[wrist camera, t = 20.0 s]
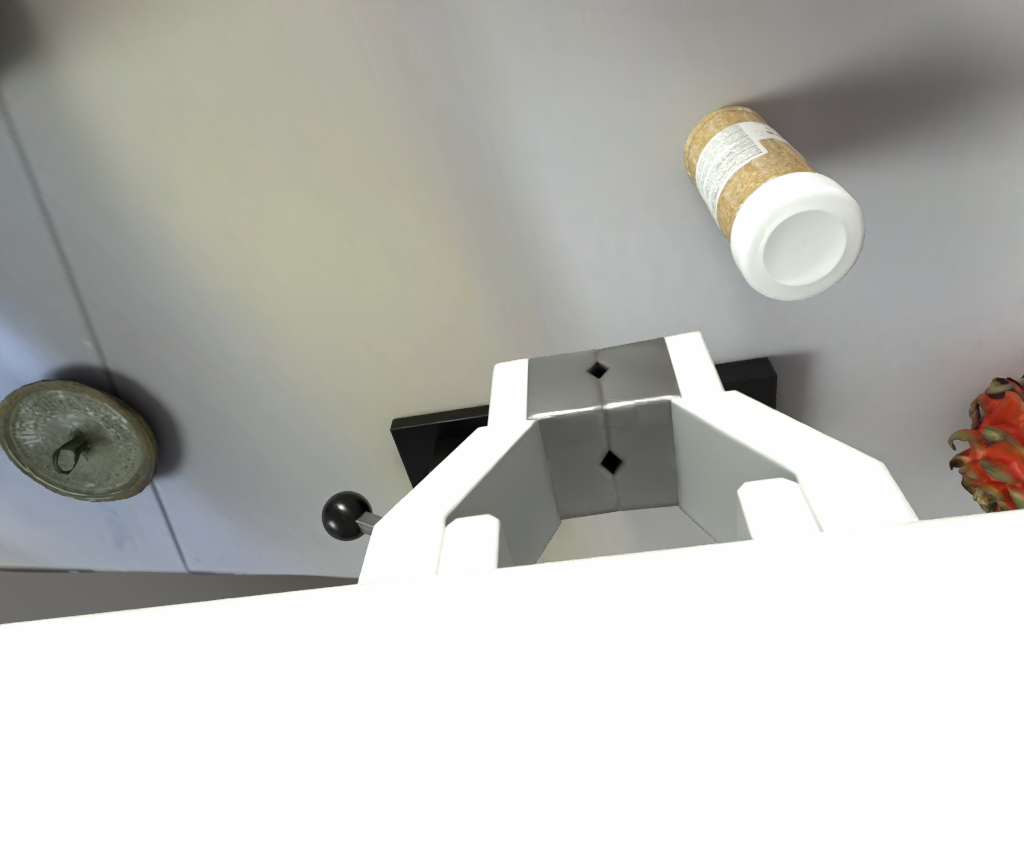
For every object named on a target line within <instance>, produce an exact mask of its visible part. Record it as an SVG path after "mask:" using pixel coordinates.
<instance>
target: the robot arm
mask: <svg viewBox="0 0 1024 848" xmlns="http://www.w3.org/2000/svg"><path fill="white" fill-rule="evenodd" d="M678 505H679V508H680V509H681V510H682V511H683V512H684V513H685V514H687V515H688V516H689V517H690V518H691V519H692V520H693V521H694V522H695V523H696V524H697V525H699V526H700V527H701V528H702V529H703V530H704V531H705V532H706V533H707V534H708V535H709V536H711V537H712V538H713V539H714V540H715V541H716V542H717V543H718V544H710V545H701V546H692V547H683V548H675V549H666V550H657V551H648V552H639V553H630V554H621V555H612V556H604V557H595V558H586V559H577V560H568V561H559V562H550V563H541V564H535V563H536V562H537V560H538V559H539V557H540V555H541V554H542V552H543V551H544V549H545V548H546V546H547V544H548V543H549V541H550V540H551V538H552V536H553V535H554V533H555V532H556V530H557V529H558V527H559V525H560V524H561V520H563V519H570V518H576V517H583V516H590V515H596V514H603V513H610V512H616V511H626V510H636V509H647V508H657V507H667V506H678ZM618 508H619V509H618ZM0 848H1024V509H1020V510H1011V511H1002V512H993V513H984V514H975V515H967V516H958V517H949V518H940V519H931V520H922V521H920V520H919V519H918V517H917V516H916V514H915V512H914V511H913V509H912V508H911V506H910V504H909V503H908V501H907V500H906V498H905V497H904V495H903V493H902V492H901V490H900V489H899V487H898V485H897V484H896V482H895V481H894V479H893V477H892V476H891V474H890V473H889V471H888V470H887V468H886V466H885V465H884V463H883V462H881V461H878V460H876V459H874V458H872V457H870V456H868V455H866V454H864V453H862V452H860V451H858V450H856V449H854V448H852V447H850V446H848V445H846V444H844V443H842V442H840V441H838V440H836V439H834V438H832V437H830V436H828V435H825V434H823V433H821V432H819V431H817V430H815V429H813V428H811V427H809V426H807V425H805V424H803V423H801V422H799V421H797V420H795V419H793V418H791V417H789V416H787V415H785V414H783V413H781V412H779V411H777V410H775V409H772V408H770V407H768V406H766V405H764V404H762V403H760V402H758V401H756V400H754V399H752V398H750V397H748V396H746V395H744V394H742V393H740V392H738V391H736V390H733V391H726V392H725V390H724V388H723V385H722V383H721V380H720V378H719V375H718V373H717V370H716V368H715V365H714V363H713V360H712V358H711V355H710V353H709V350H708V348H707V345H706V343H705V340H704V338H703V335H702V333H701V332H699V331H694V332H689V333H684V334H679V335H674V336H669V337H663V338H657V339H652V340H646V341H641V342H635V343H630V344H625V345H619V346H614V347H608V348H603V349H597V350H596V349H593V350H586V351H579V352H572V353H565V354H557V355H550V356H543V357H536V358H530V359H527V358H525V359H520V360H514V361H509V362H503V363H498V364H496V365H495V367H494V370H493V379H492V388H491V398H490V407H489V416H488V426H486V427H479V428H477V429H476V430H475V431H474V432H473V433H472V434H471V435H470V436H469V437H468V438H467V439H466V440H465V441H464V442H463V443H461V444H460V445H459V446H458V447H457V448H456V449H455V450H454V451H453V452H452V453H451V454H450V455H449V456H448V457H447V458H446V459H444V460H443V461H442V462H441V463H440V464H439V465H438V466H437V467H436V468H435V469H434V470H433V471H432V472H431V473H430V474H429V475H427V476H426V477H425V478H424V479H423V480H422V481H421V482H420V483H419V484H418V485H417V486H416V487H415V488H414V489H413V490H412V491H411V492H409V493H408V494H407V495H406V496H405V497H404V498H403V499H402V500H401V501H400V502H399V503H398V504H397V505H396V506H395V507H394V508H392V509H391V510H390V511H389V512H388V513H387V514H386V515H385V516H384V517H383V518H382V519H381V520H380V521H379V522H378V523H377V524H375V525H374V527H373V531H372V534H371V538H370V542H369V545H368V549H367V552H366V556H365V559H364V563H363V567H362V570H361V574H360V577H359V581H358V584H356V585H346V586H337V587H328V588H320V589H311V590H302V591H293V592H284V593H275V594H267V595H257V596H249V597H240V598H231V599H222V600H214V601H205V602H196V603H186V604H179V605H169V606H160V607H151V608H142V609H134V610H125V611H115V612H107V613H98V614H89V615H80V616H72V617H62V618H53V619H45V620H36V621H27V622H19V623H9V624H0Z"/></svg>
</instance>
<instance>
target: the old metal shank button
mask: <svg viewBox="0 0 1024 848" xmlns="http://www.w3.org/2000/svg"><path fill="white" fill-rule="evenodd" d="M0 445H1V447H2V449H3V450H4V451H5V453H6V455H7V456H8V458H9V459H10V460H11V461H12V462H13V463H14V464H15V465H16V467H17V468H19V469H20V470H21V471H22V472H23V473H24V474H26V475H27V476H29V477H30V478H31V479H33V480H34V481H36V482H37V483H39V484H41V485H43V486H44V487H45V488H47V489H49V490H51V491H53V492H55V493H58V494H60V495H63V496H67V497H71V498H75V499H78V500H83V501H90V502H100V501H115V500H121V499H127V498H130V497H132V496H135V495H137V494H138V493H140V492H142V491H143V490H144V489H145V487H147V486H148V485H149V483H150V482H151V481H152V479H153V476H154V475H155V474H156V469H157V460H158V448H157V442H156V439H155V434H154V432H153V430H152V429H151V427H150V425H149V424H148V423H147V421H146V420H145V419H144V418H143V417H142V415H141V414H139V413H138V412H136V411H135V410H134V409H133V408H132V407H130V406H129V405H127V404H126V403H124V402H123V401H122V400H120V399H119V398H118V397H116V396H114V395H112V394H110V393H108V392H106V391H103V390H101V389H99V388H96V387H93V386H90V385H88V384H84V383H81V382H78V381H74V380H63V379H59V380H42V381H38V382H34V383H30V384H27V385H24V386H22V387H20V388H19V389H17V390H15V391H13V392H12V393H11V394H9V395H8V396H7V397H5V399H4V400H3V401H2V402H1V403H0Z"/></svg>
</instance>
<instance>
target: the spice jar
mask: <svg viewBox="0 0 1024 848" xmlns="http://www.w3.org/2000/svg"><path fill="white" fill-rule="evenodd" d="M684 163H685V168H686V172H687V174H688V176H689V178H690V179H691V181H692V182H693V183H694V184H695V185H696V186H697V187H698V191H699V193H700V195H701V197H702V198H703V200H704V202H705V204H706V206H707V207H708V209H709V211H710V213H711V215H712V217H713V218H714V220H715V222H716V224H717V225H718V227H719V229H720V231H721V232H722V234H723V235H724V236H725V238H726V239H727V240H728V241H729V243H730V244H731V251H732V255H733V258H734V261H735V263H736V265H737V266H738V268H739V270H740V271H741V273H742V275H743V276H744V278H745V279H746V280H747V282H748V283H749V284H750V285H751V286H752V287H753V288H754V289H755V290H756V291H758V292H759V293H761V294H763V295H764V296H767V297H769V298H773V299H777V300H784V301H793V300H802V299H805V298H809V297H812V296H815V295H818V294H820V293H822V292H824V291H826V290H827V289H829V288H831V287H832V286H834V285H835V284H836V283H837V282H839V281H840V280H841V279H842V278H843V277H844V276H845V275H846V274H847V273H848V272H849V271H850V269H851V268H852V267H853V265H854V264H855V262H856V261H857V259H858V257H859V255H860V252H861V250H862V247H863V243H864V239H865V222H864V217H863V213H862V211H861V209H860V207H859V205H858V204H857V202H856V201H855V200H854V199H853V198H852V196H851V195H849V194H848V193H847V192H846V191H845V190H844V189H843V188H842V187H841V186H840V185H839V184H837V183H836V182H835V181H834V180H832V179H830V178H828V177H827V176H824V175H821V174H818V173H817V172H816V171H815V170H814V169H813V168H812V167H811V166H810V165H809V164H808V162H807V161H806V160H805V159H804V158H803V156H802V155H801V154H800V153H799V152H798V151H797V150H795V149H794V148H793V147H792V146H791V145H790V144H789V143H788V142H787V141H786V140H785V139H784V138H783V137H782V136H780V135H779V134H778V133H777V132H776V131H775V130H774V129H772V128H771V127H769V126H768V124H767V123H766V122H765V120H764V119H763V118H762V117H761V116H760V115H759V114H758V113H756V112H755V111H753V110H751V109H749V108H746V107H739V106H731V107H725V108H722V109H719V110H716V111H714V112H712V113H710V114H708V115H706V116H705V117H704V118H703V119H702V120H701V121H700V122H699V123H698V124H697V125H696V127H695V128H694V129H693V131H692V132H691V134H690V136H689V138H688V140H687V143H686V146H685V152H684Z"/></svg>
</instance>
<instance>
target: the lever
mask: <svg viewBox="0 0 1024 848" xmlns="http://www.w3.org/2000/svg"><path fill="white" fill-rule="evenodd" d="M382 518H383V517H380V516H377V515H374V514H373V513H372V508H371V505H370V503H369V502H368V500H367V499H366V498H365V497H364V496H362V495H361V494H359V493H356V492H352V491H343V492H340V493H337V494H335V495H333V496H332V497H331V498H330V499H329V500H328V501H327V502H326V504H325V506H324V508H323V511H322V523H323V526H324V528H325V530H326V531H327V532H328V534H329V535H331V536H332V537H334V538H335V539H338V540H341V541H351V540H355V539H357V538H359V537H361V536H362V535H364V534H368V535H371V534H372V531H373V527H374V525H375V524H377V523H378V522H379V521H380V520H381V519H382Z"/></svg>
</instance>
